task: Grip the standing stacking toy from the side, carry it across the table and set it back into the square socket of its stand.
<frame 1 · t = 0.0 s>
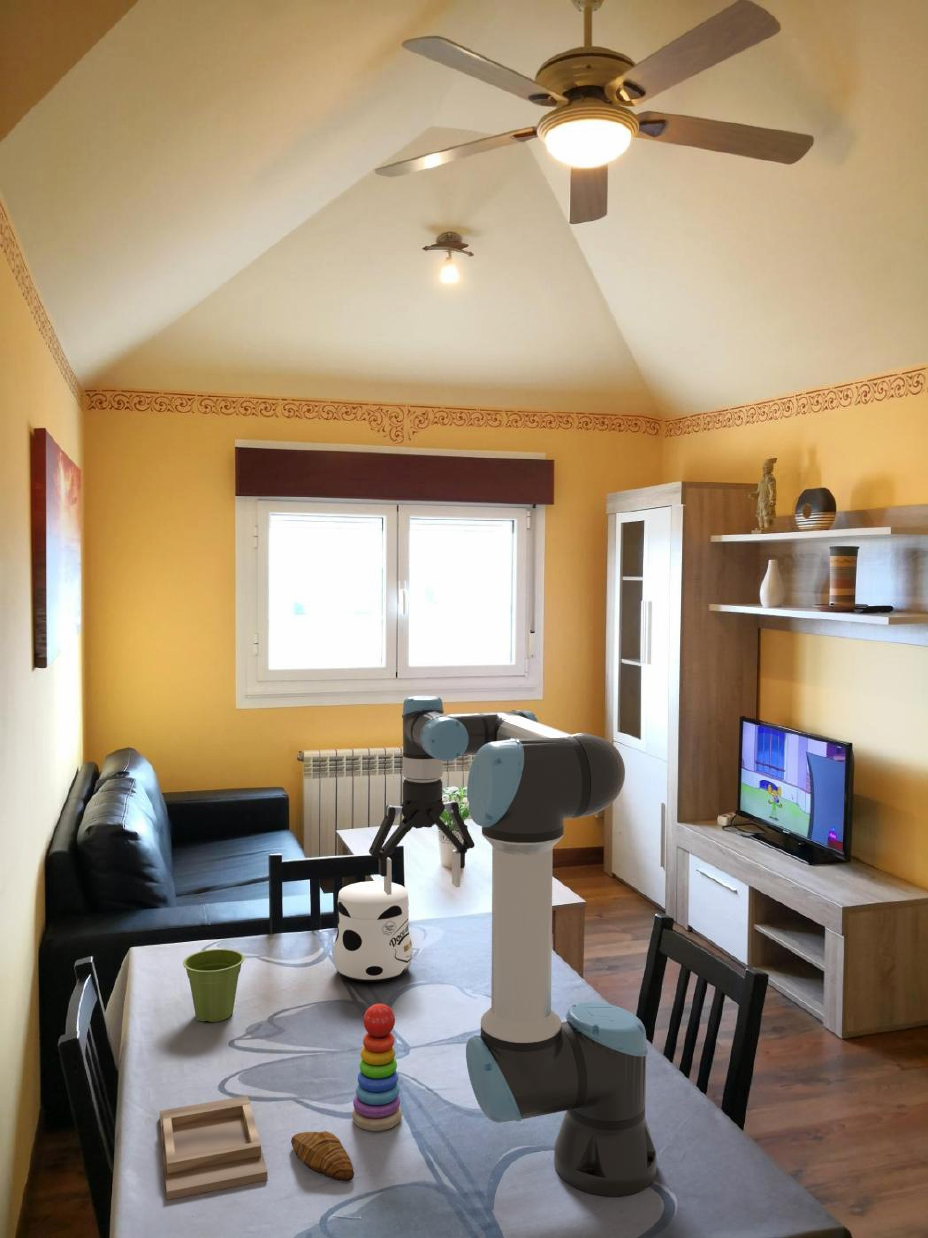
hand: (422, 889, 188), 28 cm above the table, tool pointing down, fingers open, 13 cm apart
toy stand: (210, 1147, 152), on the table
plant pot: (214, 1016, 197), on the table
croissant: (321, 1167, 147), on the table
milk container: (373, 973, 218), on the table
stacking toy: (377, 1121, 160), on the table
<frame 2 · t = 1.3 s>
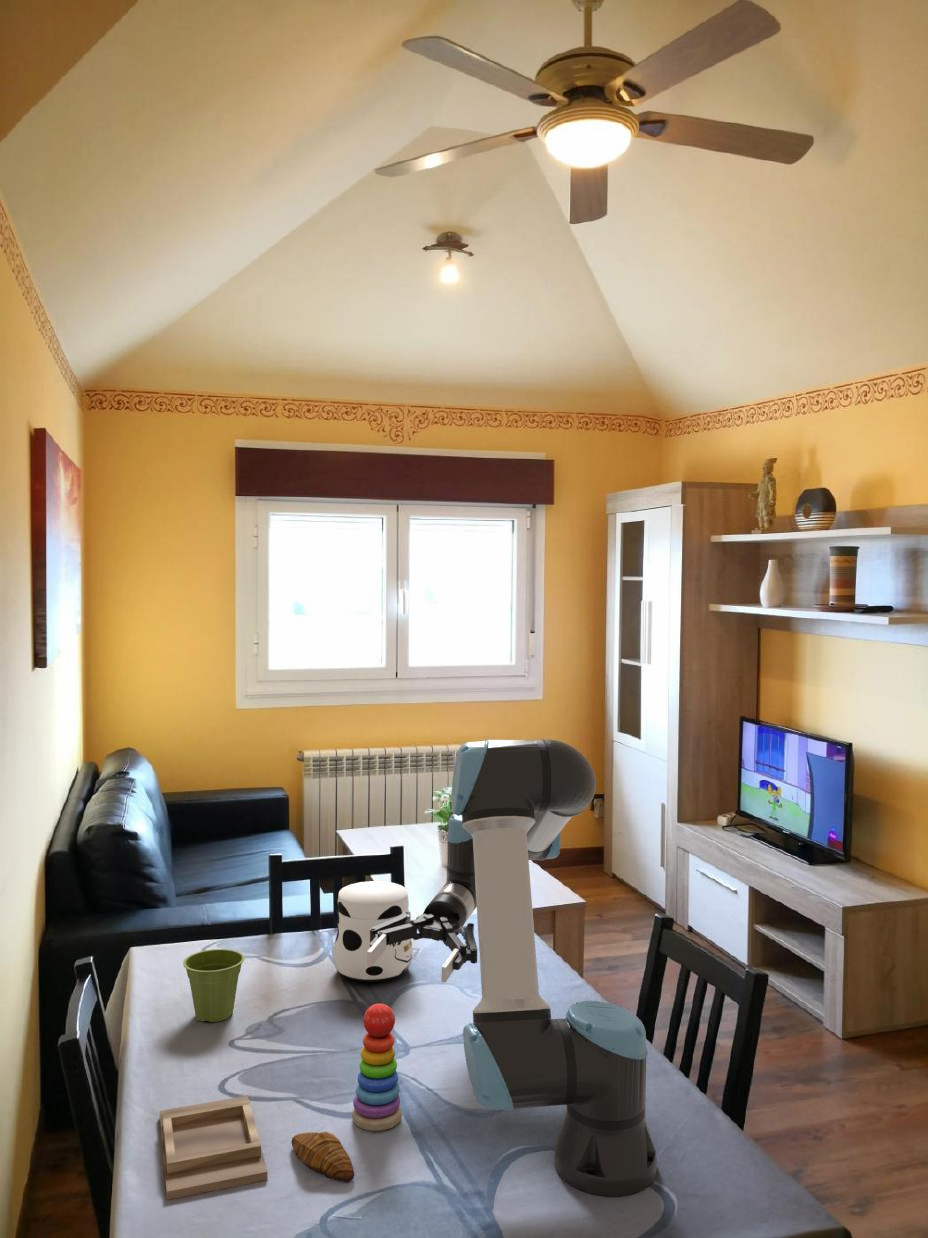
hand: (405, 967, 167), 22 cm above the table, tool horizontal, fingers open, 13 cm apart
nothing on the table moved.
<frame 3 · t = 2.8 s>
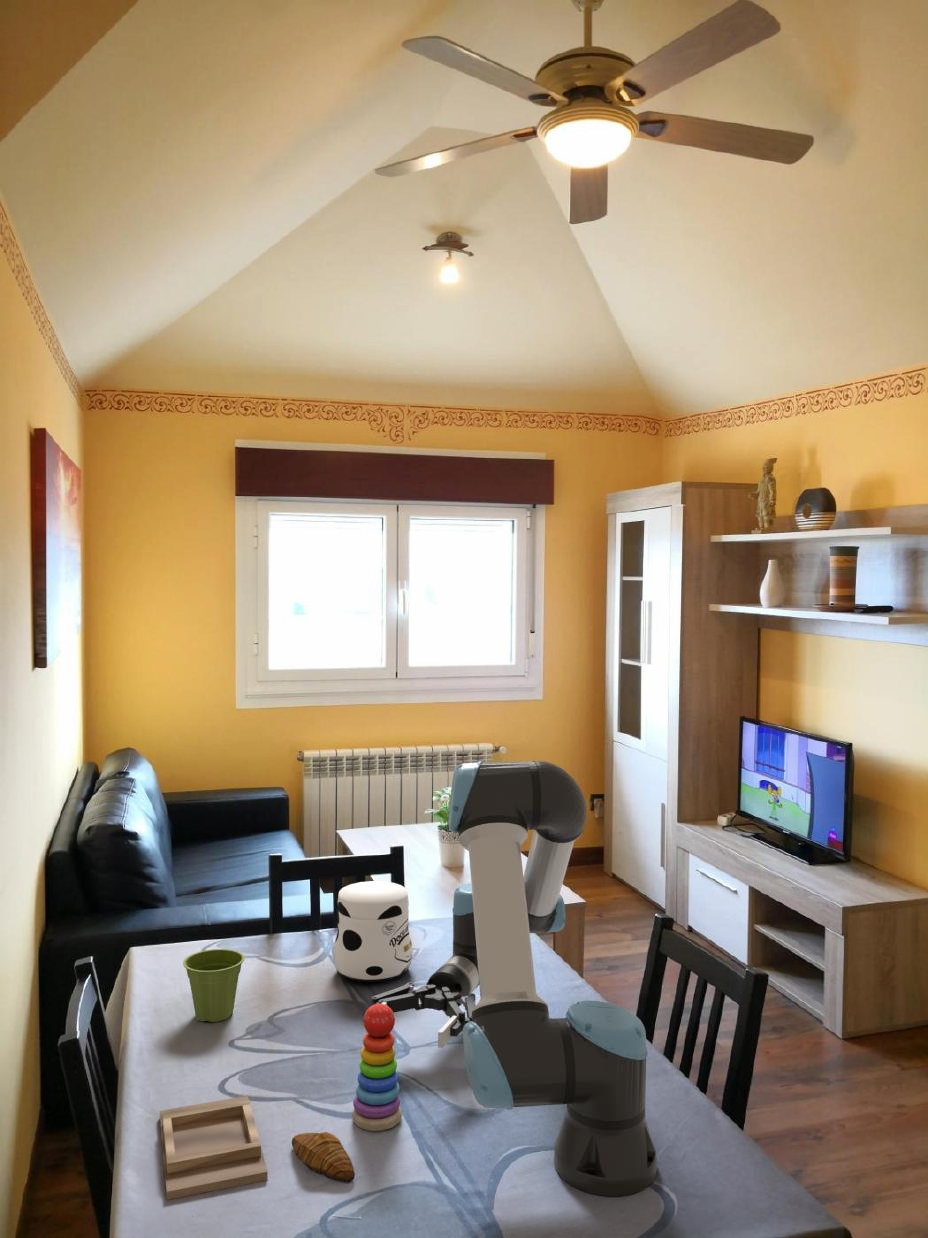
hand: (403, 1032, 168), 10 cm above the table, tool horizontal, fingers open, 13 cm apart
nothing on the table moved.
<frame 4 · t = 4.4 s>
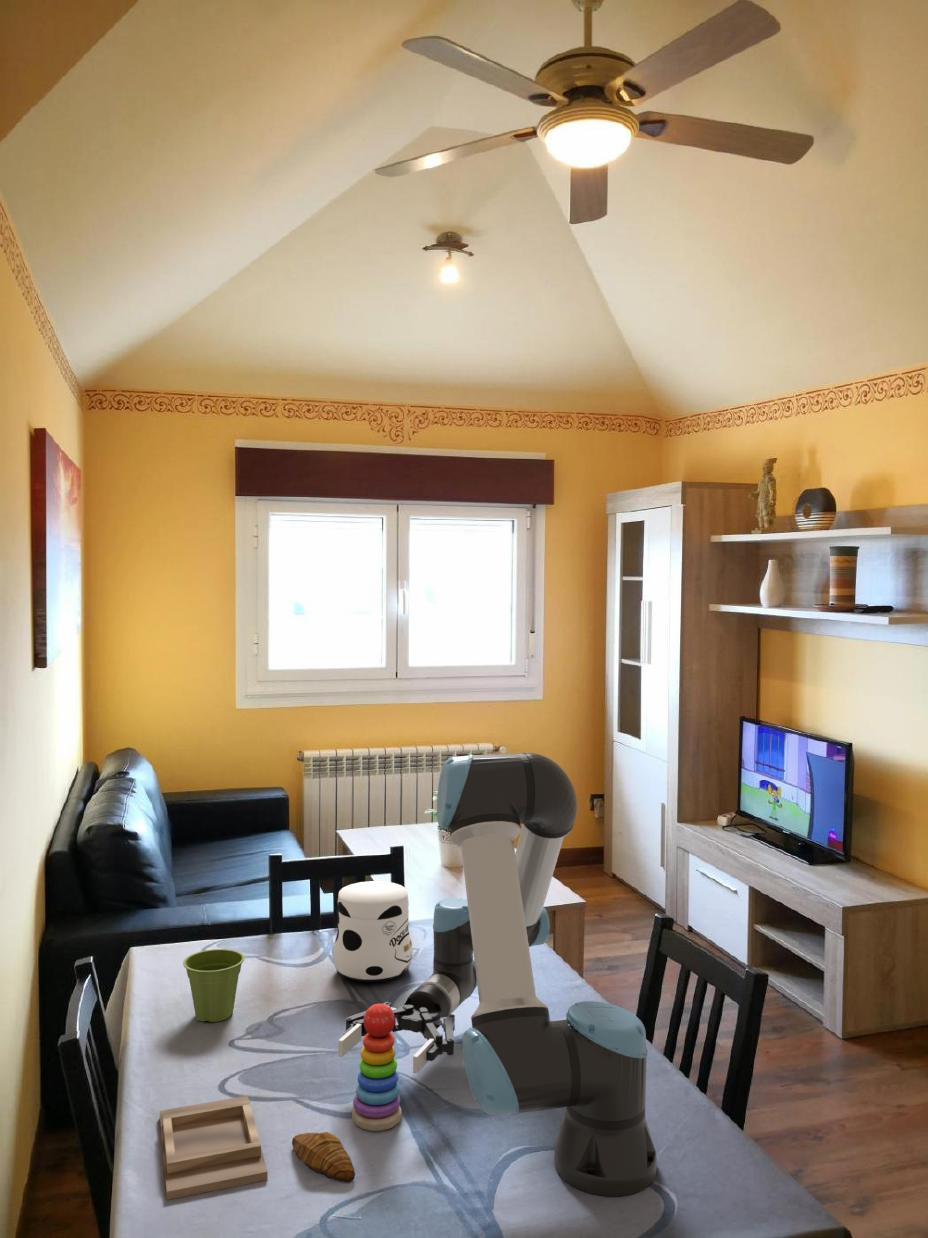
hand: (377, 1057, 160), 10 cm above the table, tool horizontal, fingers open, 13 cm apart
nothing on the table moved.
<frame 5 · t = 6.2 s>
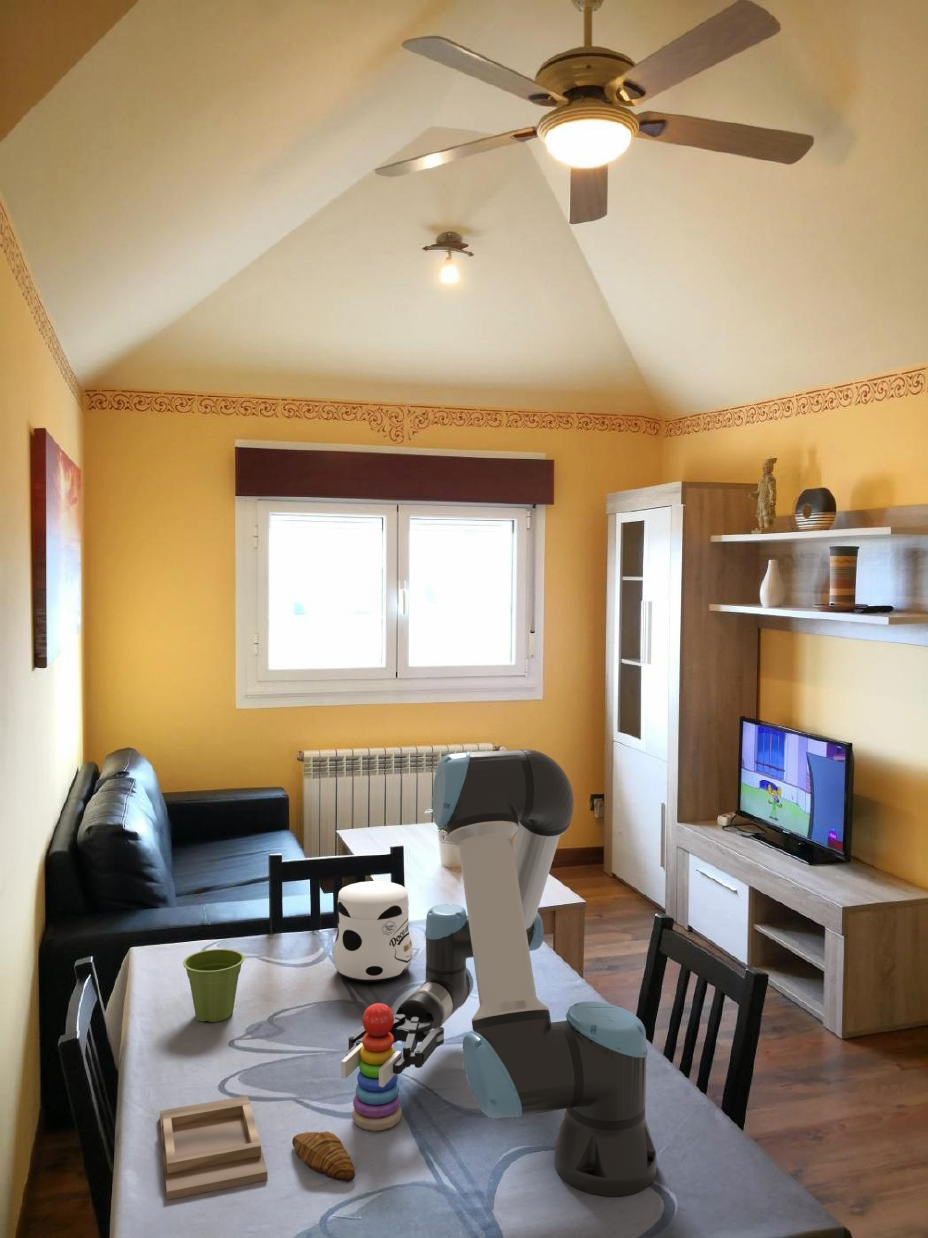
hand: (362, 1074, 154), 10 cm above the table, tool horizontal, fingers closed on stacking toy, 6 cm apart
stacking toy: (377, 1121, 160), on the table, touching gripper
everything else where it was.
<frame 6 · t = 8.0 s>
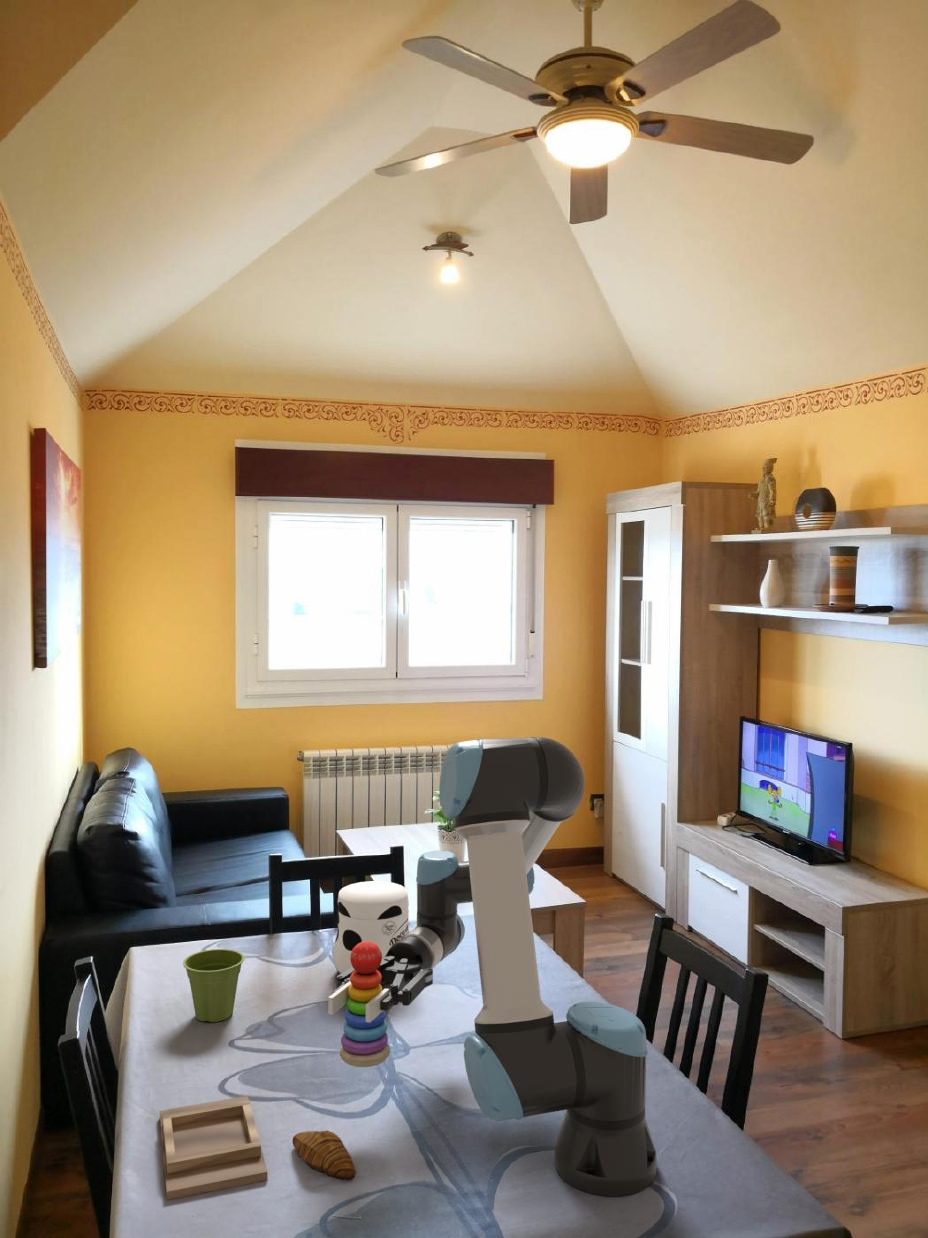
hand: (349, 1010, 154), 20 cm above the table, tool horizontal, fingers closed on stacking toy, 6 cm apart
stacking toy: (365, 1058, 159), point 10 cm above the table, touching gripper
everything else where it was.
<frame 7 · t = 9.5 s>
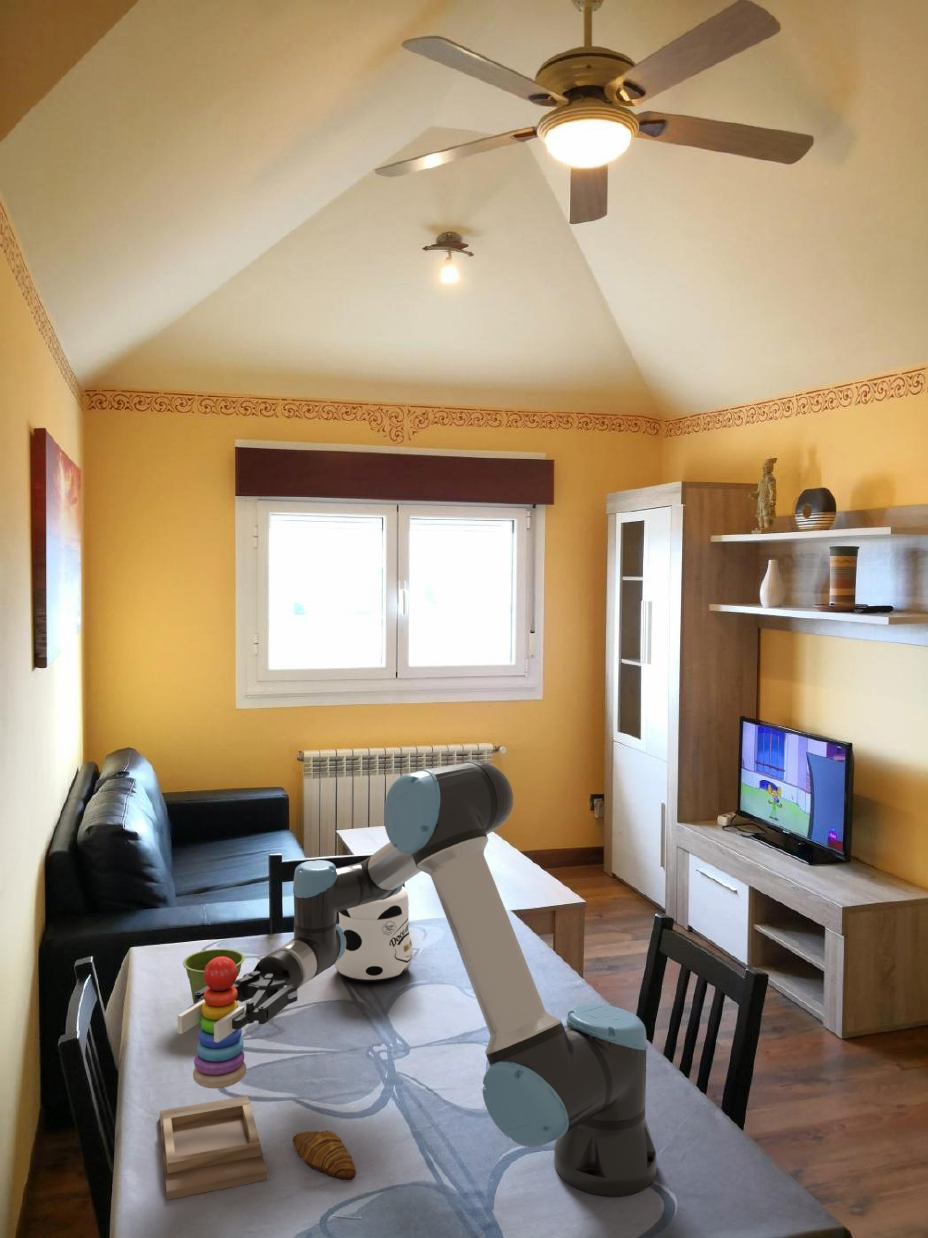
hand: (198, 1029, 147), 20 cm above the table, tool horizontal, fingers closed on stacking toy, 6 cm apart
stacking toy: (220, 1079, 153), point 10 cm above the table, touching gripper
everything else where it was.
when the fingers open (13 cm above the table, at t = 11.8 s): stacking toy drops 1 cm, resting on toy stand.
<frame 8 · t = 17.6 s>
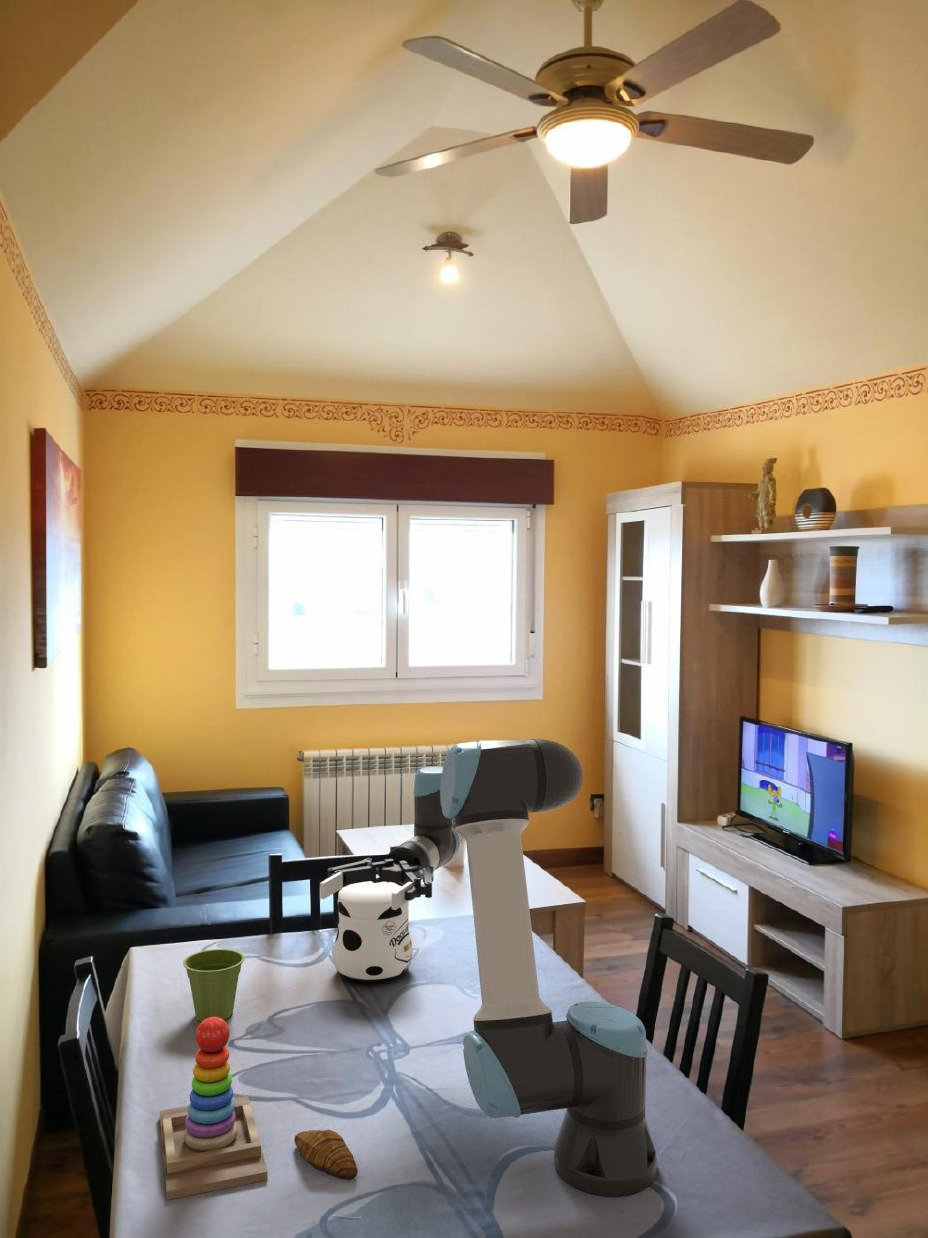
hand: (357, 896, 165), 34 cm above the table, tool horizontal, fingers open, 13 cm apart
stacking toy: (210, 1140, 152), point 1 cm above the table, touching toy stand
everything else where it was.
at the end: stacking toy 0.2 cm off-centre on the toy stand, point 1.0 cm above the toy stand's base; stacking toy tilted 0°; the gripper is holding nothing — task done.
